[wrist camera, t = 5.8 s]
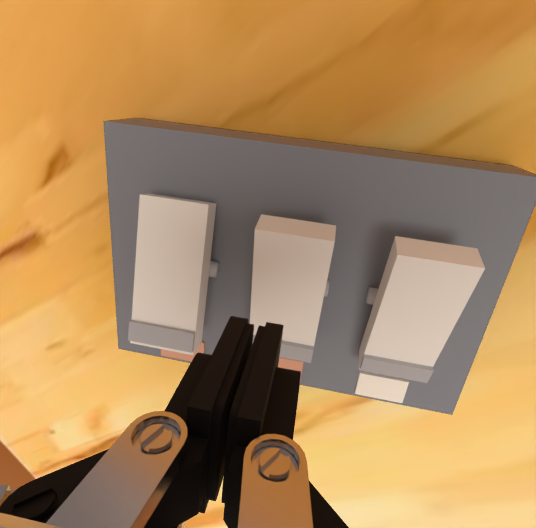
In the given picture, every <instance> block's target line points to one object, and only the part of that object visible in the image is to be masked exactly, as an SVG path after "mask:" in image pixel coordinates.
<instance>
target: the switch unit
mask: <svg viewBox="0 0 536 528" xmlns="http://www.w3.org/2000/svg"><path fill="white" fill-rule="evenodd" d="M104 134H105V150H106V165H107V180H108V195H109V210H110V226H111V241H112V256H113V271H114V286H115V302H116V317H117V332H118V347H119V349H123V350H128V351H133V352H138V353H143V354H148V355H153V356H158V357H163V358H168V359H173V360H178V361H183V362H189V363H191V362H192V360H193V358H194V356H195V355H196V354H197V353H198V352H199V353H205V354H210V355H212V353H213V351H214V349H215V347H216V345H217V343H218V341H219V339H220V337H221V335H222V333H223V331H224V329H225V327H226V325H227V322H228V320H229V318H230V317H231V316H235V317H241V318H247V319H248V324H250V309H251V290H252V271H253V253H254V234H255V227H256V225H257V223H258V220H259V218H260V216H261V214H263V215H270V216H277V217H283V218H290V219H297V220H303V221H310V222H317V223H323V224H330V225H336V234H335V243H334V248H333V253H332V258H331V263H330V268H329V273H328V278H327V283H326V288H325V293H324V298H323V303H322V308H321V313H320V318H319V324H318V329H317V334H316V339H315V344H314V350H313V355H312V360H311V363H307V362H302V361H297V360H291V359H286V358H281V357H279V363H278V367H280V368H285V369H291V370H296V371H301V377H300V385H305V386H310V387H315V388H320V389H325V390H330V391H335V392H340V393H345V394H350V395H355V396H360V397H365V398H370V399H375V400H380V401H385V402H390V403H395V404H401V405H406V406H411V407H416V408H421V409H426V410H431V411H436V412H441V413H446V414H451V415H452V414H453V411H454V409H455V406H456V404H457V401H458V399H459V396H460V394H461V391H462V389H463V386H464V384H465V381H466V379H467V376H468V373H469V371H470V368H471V366H472V363H473V361H474V358H475V356H476V353H477V351H478V348H479V346H480V343H481V341H482V338H483V336H484V333H485V331H486V328H487V326H488V323H489V320H490V318H491V315H492V313H493V310H494V308H495V305H496V303H497V300H498V298H499V295H500V293H501V290H502V288H503V285H504V283H505V280H506V278H507V275H508V272H509V270H510V267H511V265H512V262H513V260H514V257H515V255H516V252H517V250H518V247H519V245H520V242H521V240H522V237H523V235H524V232H525V230H526V227H527V225H528V222H529V219H530V217H531V214H532V212H533V209H534V207H535V204H536V174H534V173H531V172H529V171H526V170H523V169H521V168H518V167H516V166H512V165H504V164H496V163H489V162H481V161H473V160H465V159H457V158H449V157H441V156H433V155H426V154H418V153H410V152H402V151H394V150H386V149H378V148H370V147H363V146H355V145H347V144H339V143H331V142H323V141H315V140H307V139H300V138H292V137H284V136H276V135H268V134H260V133H252V132H244V131H236V130H229V129H221V128H213V127H205V126H197V125H189V124H181V123H173V122H166V121H158V120H150V119H142V118H130V119H120V120H110V121H104ZM140 194H157V195H164V196H170V197H177V198H184V199H190V200H197V201H204V202H210V203H217V204H216V213H215V222H214V231H213V241H212V250H211V259H210V269H209V278H208V287H207V297H206V306H205V315H204V324H203V334H202V343H201V346H200V347H199V348H198V350H197V351H196V352H195V353H194V355H189V354H184V353H179V352H173V351H168V350H163V349H158V348H153V347H148V346H143V345H138V344H133V343H130V341H129V340H128V331H129V321H131V320H132V305H133V290H134V275H135V259H136V244H137V229H138V214H139V198H140ZM395 236H398V237H405V238H412V239H418V240H425V241H432V242H438V243H445V244H451V245H458V246H465V247H471V248H477V249H478V251H479V254H480V256H481V259H482V261H483V264H484V267H485V270H484V272H483V274H482V275H481V277H480V279H479V281H478V283H477V285H476V287H475V289H474V290H473V292H472V294H471V296H470V298H469V300H468V302H467V304H466V306H465V307H464V309H463V311H462V313H461V315H460V317H459V319H458V321H457V323H456V324H455V326H454V328H453V330H452V332H451V334H450V336H449V338H448V339H447V341H446V343H445V345H444V347H443V349H442V351H441V353H440V355H439V356H438V358H437V360H436V362H435V364H434V366H433V370H434V371H433V373H432V375H431V377H430V379H429V381H428V383H424V382H418V381H413V380H408V379H403V378H397V377H392V376H387V375H382V374H376V373H371V372H366V371H361V370H360V369H359V348H360V345H361V342H362V339H363V336H364V332H365V329H366V326H367V323H368V320H369V317H370V314H371V311H372V307H373V304H374V301H375V298H376V295H377V292H378V289H379V286H380V282H381V279H382V276H383V273H384V270H385V267H386V264H387V261H388V257H389V254H390V251H391V248H392V245H393V242H394V239H395Z"/></svg>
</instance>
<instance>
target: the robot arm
mask: <svg viewBox="0 0 536 528" xmlns="http://www.w3.org/2000/svg"><path fill="white" fill-rule="evenodd" d="M283 326H284V325H281V324H275V323H269V322H266V325H265V326H260V325H259V327H258V330H257V333H256V335H255V338H254V341H253V333H254V324H248V319H247V318H241V317H235V316H231V317H230V318H229V320H228V322H227V325H226V327H225V329H224V331H223V333H222V335H221V337H220V339H219V341H218V343H217V345H216V347H215V349H214V351H213V353H212V355H210V354H205V353H199V352H198V353H197V354H196V355H195V356H194V358H193V360H192V362H191V364H190V366H189V367H188V369H187V371H186V373H185V375H184V377H183V378H182V380H181V382H180V384H179V386H178V388H177V389H176V391H175V393H174V395H173V397H172V398H171V400H170V402H169V404H168V406H167V408H166V409H165V411H155V412H151V413H147V414H144V415H142V416H141V417H139V418H137V419H136V420H135V421H133V422H132V423H131V424H130V425H129V426H128V427H127V429H126V430H125V431H124V432H123V433H122V434H121V436H120V437H119V438H118V439H117V440H116V442H115V443H114V444H113V445H112V446H111V447H110V449H108V450H105V451H103V452H100V453H98V454H96V455H93V456H91V457H88V458H86V459H84V460H81V461H79V462H76V463H74V464H71V465H69V466H67V467H64V468H62V469H59V470H57V471H55V472H52V473H50V474H47V475H45V476H43V477H40V478H38V479H35V480H33V481H31V482H29V483H27V484H25V485H23V486H21V487H20V488H18V489H17V490H10V487H9V485H0V528H184V526H185V521H186V520H188V519H190V518H192V517H193V516H195V515H197V514H198V513H199V512H201V513H205V510H206V507H207V504H208V501H209V500H213V501H216V499H217V496H218V493H219V489H220V486H221V483H222V479H223V476H224V479H223V491H222V503H225V508H224V519H223V520H224V521H225V523H226V525H227V526H228V528H349V527H348V526H347V525H346V524H345V523H344V522H343V520H342V519H341V518H340V517H339V516H338V514H337V513H336V512H335V511H334V510H333V509H332V507H331V506H330V505H329V504H328V503H327V501H326V500H325V499H324V498H323V497H322V496H321V494H320V493H319V492H318V491H317V490H316V488H315V487H314V486H313V485H312V484H311V483H310V481H309V479H308V469H307V461H306V457H305V453H304V452H303V450H302V449H301V447H300V446H299V445H298V444H297V443H296V442H295V441H293V433H294V425H295V417H296V409H297V401H298V393H299V385H300V377H301V371H296V370H291V369H285V368H280V367H278V363H279V356H280V348H281V341H282V334H283ZM252 342H253V344H252Z"/></svg>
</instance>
